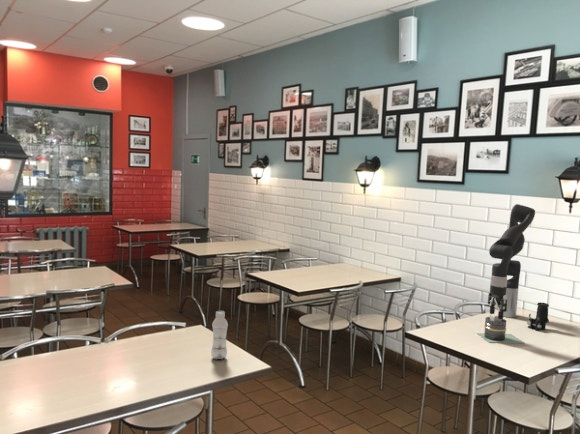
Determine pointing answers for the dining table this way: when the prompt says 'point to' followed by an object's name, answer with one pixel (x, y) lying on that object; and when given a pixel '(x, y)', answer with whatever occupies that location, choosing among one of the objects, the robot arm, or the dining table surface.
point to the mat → (508, 339)
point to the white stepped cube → (495, 318)
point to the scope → (539, 317)
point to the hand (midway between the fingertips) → (496, 316)
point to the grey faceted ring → (495, 329)
